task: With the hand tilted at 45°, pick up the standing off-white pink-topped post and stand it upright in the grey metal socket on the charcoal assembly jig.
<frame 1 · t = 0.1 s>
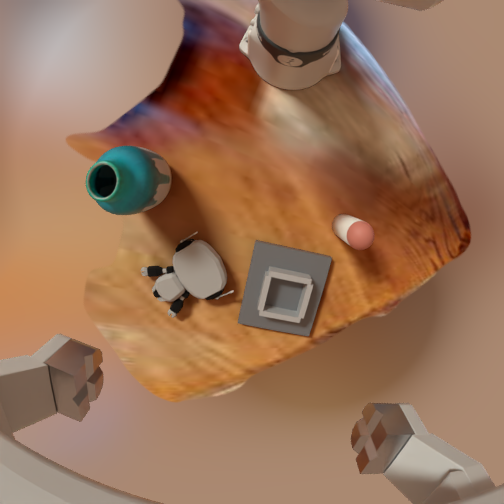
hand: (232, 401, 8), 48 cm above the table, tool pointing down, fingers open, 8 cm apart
robot toy: (188, 273, 58), on the table
jig: (283, 289, 58), on the table
vase: (151, 179, 54), on the table
pink-topped post: (343, 225, 55), on the table
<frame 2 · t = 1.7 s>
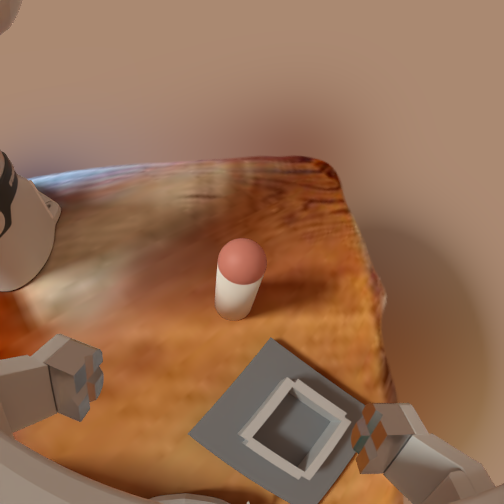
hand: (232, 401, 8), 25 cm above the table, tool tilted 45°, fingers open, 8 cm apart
jig: (287, 429, 30), on the table
pink-topped post: (233, 303, 37), on the table
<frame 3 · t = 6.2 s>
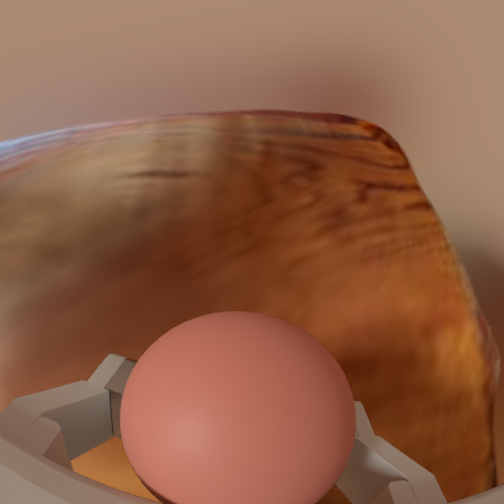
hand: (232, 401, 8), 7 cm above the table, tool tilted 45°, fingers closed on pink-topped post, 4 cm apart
pink-topped post: (220, 421, 14), on the table, touching gripper
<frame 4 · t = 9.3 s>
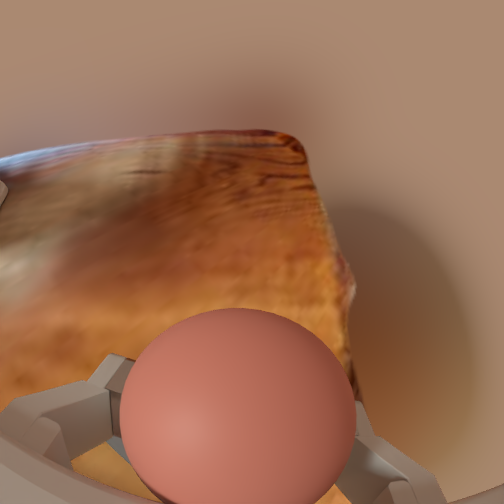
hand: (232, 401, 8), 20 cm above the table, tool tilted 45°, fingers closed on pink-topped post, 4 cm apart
pink-topped post: (220, 420, 14), point 13 cm above the table, touching gripper
when the fingers open (9 cm above the table, at t = 12.4 s): pink-topped post stays where it is, resting on jig.
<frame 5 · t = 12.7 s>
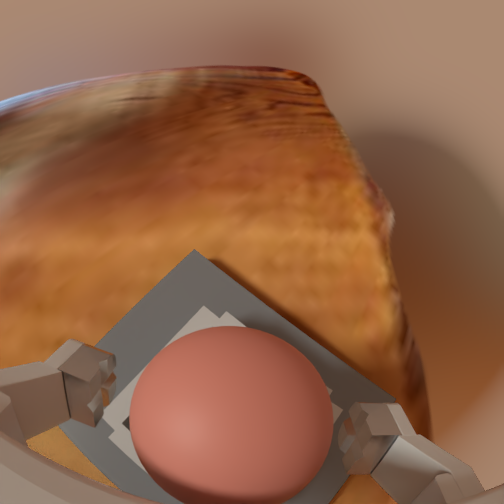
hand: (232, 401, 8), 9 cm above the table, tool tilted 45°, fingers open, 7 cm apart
jig: (219, 421, 16), on the table
pink-topped post: (219, 420, 15), point 2 cm above the table, touching jig
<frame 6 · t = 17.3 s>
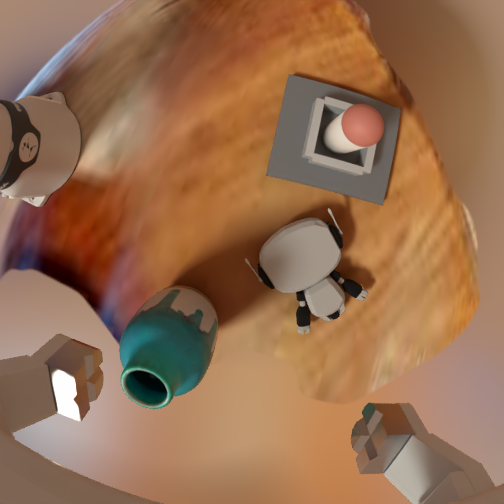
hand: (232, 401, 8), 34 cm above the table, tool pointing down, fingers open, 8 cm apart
robot toy: (309, 269, 43), on the table
jig: (335, 139, 38), on the table
vase: (187, 309, 45), on the table
pink-topped post: (338, 138, 37), point 2 cm above the table, touching jig
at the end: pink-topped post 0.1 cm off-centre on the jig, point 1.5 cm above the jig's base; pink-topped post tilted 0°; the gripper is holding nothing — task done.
